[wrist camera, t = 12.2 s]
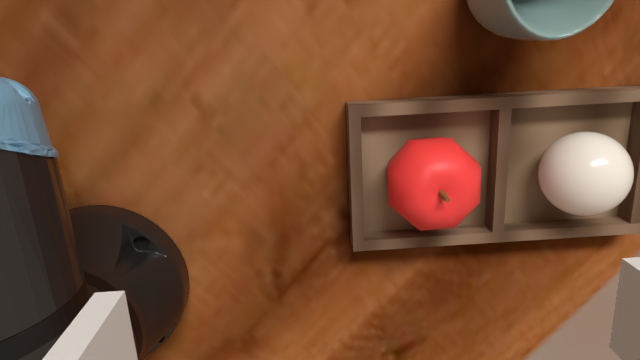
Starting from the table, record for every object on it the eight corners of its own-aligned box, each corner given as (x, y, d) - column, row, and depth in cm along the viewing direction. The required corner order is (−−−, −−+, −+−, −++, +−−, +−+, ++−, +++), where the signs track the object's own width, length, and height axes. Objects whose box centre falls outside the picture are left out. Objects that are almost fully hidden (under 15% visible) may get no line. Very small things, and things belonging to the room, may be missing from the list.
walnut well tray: (350, 240, 46) (353, 251, 43) (345, 101, 42) (348, 105, 40) (622, 223, 46) (639, 233, 44) (641, 85, 43) (662, 88, 40)
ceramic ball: (520, 202, 45) (560, 232, 38) (526, 126, 43) (568, 144, 36) (596, 197, 45) (648, 226, 38) (605, 122, 43) (661, 138, 36)
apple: (398, 226, 45) (419, 266, 37) (362, 151, 43) (376, 177, 35) (478, 189, 44) (516, 221, 36) (445, 110, 42) (478, 128, 34)
